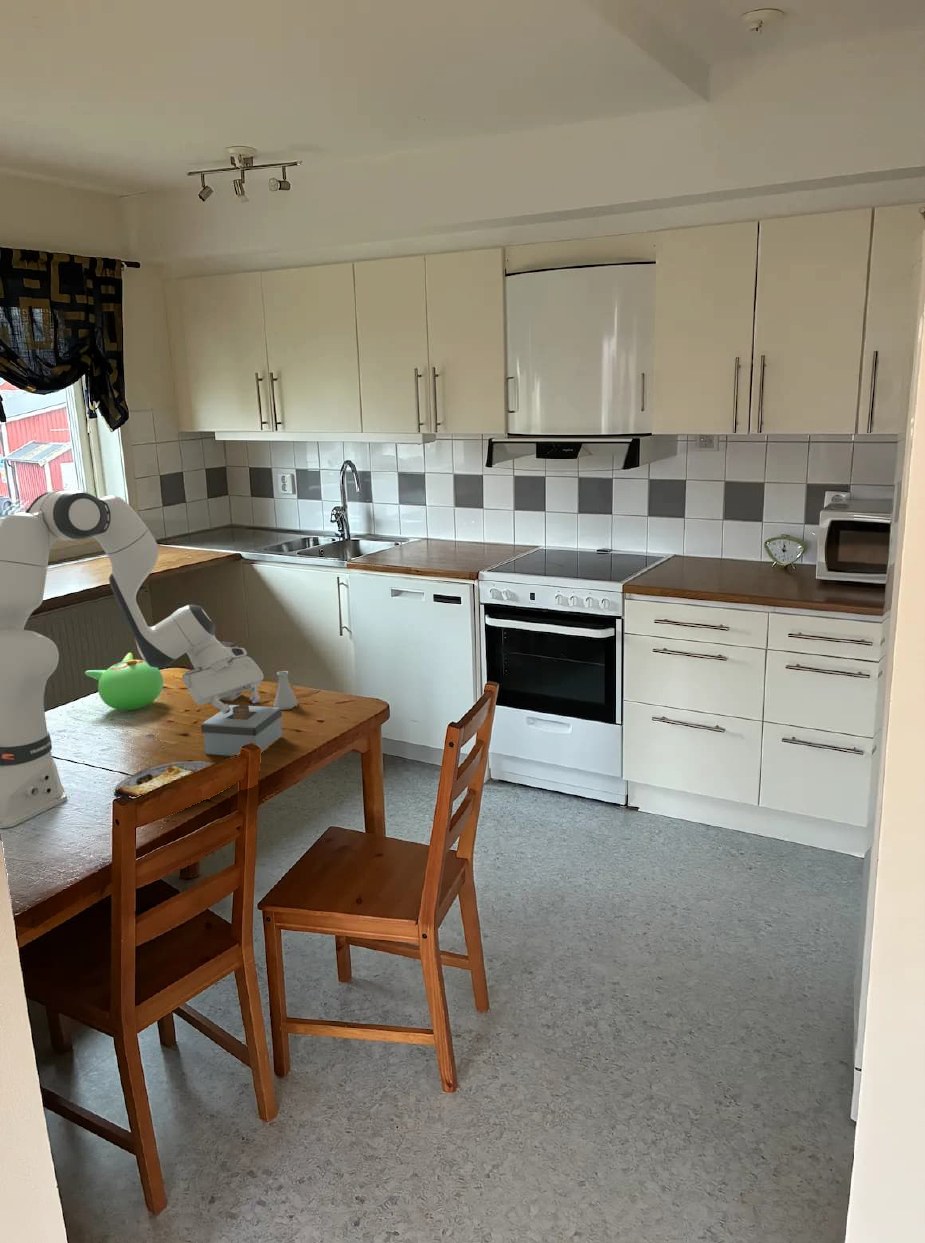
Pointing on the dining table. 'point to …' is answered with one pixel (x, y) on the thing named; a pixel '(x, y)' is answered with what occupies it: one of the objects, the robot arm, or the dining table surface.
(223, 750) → the collar block
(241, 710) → the beige cylinder
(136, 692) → the toy bird
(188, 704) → the dining table surface
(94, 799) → the dining table surface
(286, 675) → the flask
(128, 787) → the food plate
